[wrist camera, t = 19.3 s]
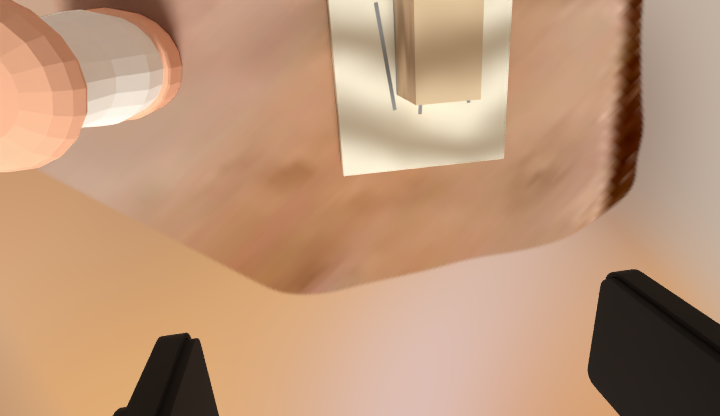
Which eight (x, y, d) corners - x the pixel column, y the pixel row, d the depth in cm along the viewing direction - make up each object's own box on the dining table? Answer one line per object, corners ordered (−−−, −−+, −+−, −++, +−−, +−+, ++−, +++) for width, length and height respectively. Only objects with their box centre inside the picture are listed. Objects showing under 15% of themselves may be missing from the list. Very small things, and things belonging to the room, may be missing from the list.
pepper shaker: (108, -13, 31) (-147, -84, 13) (201, 55, 33) (93, 74, 15) (59, 73, 32) (-231, 115, 14) (151, 132, 34) (0, 230, 17)
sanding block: (392, -3, 32) (413, -12, 26) (451, -7, 32) (484, -17, 27) (396, 94, 35) (416, 105, 29) (451, 89, 35) (480, 99, 29)
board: (317, -104, 30) (318, -111, 29) (508, -112, 32) (518, -119, 30) (342, 171, 38) (343, 176, 36) (496, 154, 39) (503, 158, 38)
